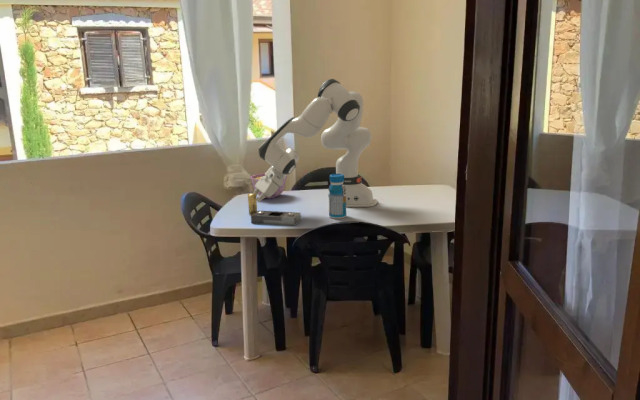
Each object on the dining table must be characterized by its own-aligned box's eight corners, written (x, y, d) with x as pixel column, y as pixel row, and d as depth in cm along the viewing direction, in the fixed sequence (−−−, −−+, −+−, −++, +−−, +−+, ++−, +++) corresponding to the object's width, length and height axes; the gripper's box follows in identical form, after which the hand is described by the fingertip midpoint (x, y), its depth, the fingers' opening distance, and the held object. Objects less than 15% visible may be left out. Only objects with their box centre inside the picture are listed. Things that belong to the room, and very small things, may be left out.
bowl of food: (294, 194, 292) (293, 174, 290) (273, 202, 276) (272, 181, 273) (266, 191, 303) (265, 171, 300) (244, 198, 287) (242, 178, 284)
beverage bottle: (333, 220, 240) (332, 177, 235) (326, 215, 247) (324, 174, 242) (349, 217, 243) (349, 175, 238) (341, 213, 250) (341, 172, 246)
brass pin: (258, 213, 256) (257, 193, 253) (255, 215, 252) (253, 195, 250) (251, 212, 257) (249, 193, 254) (247, 214, 253) (246, 194, 251)
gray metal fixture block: (300, 219, 242) (300, 211, 241) (294, 225, 233) (294, 216, 232) (259, 217, 248) (258, 209, 247) (251, 222, 239) (250, 214, 238)
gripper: (263, 170, 262) (245, 191, 261) (274, 176, 243) (255, 199, 242) (272, 177, 264) (254, 198, 263) (284, 185, 246) (265, 207, 245)
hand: (255, 199), depth 252 cm, fingers open, 8 cm apart
